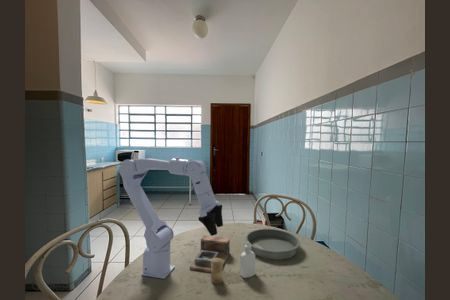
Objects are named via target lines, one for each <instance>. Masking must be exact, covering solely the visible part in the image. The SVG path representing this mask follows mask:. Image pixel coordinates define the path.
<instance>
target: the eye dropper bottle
mask: <svg viewBox="0 0 450 300" xmlns="http://www.w3.org/2000/svg"><path fill="white" fill-rule="evenodd" d="M239 258H240V259H239V264H240V265H239V274H240V276H241V277H242V278H243V279H246V278H251V277H253V276H254V275H255V274H256V254H255V253H254V252H253V251H251V245H249V242H247V241H246V244H245V245H244V251H243V252H241V254H240V256H239Z"/></svg>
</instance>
